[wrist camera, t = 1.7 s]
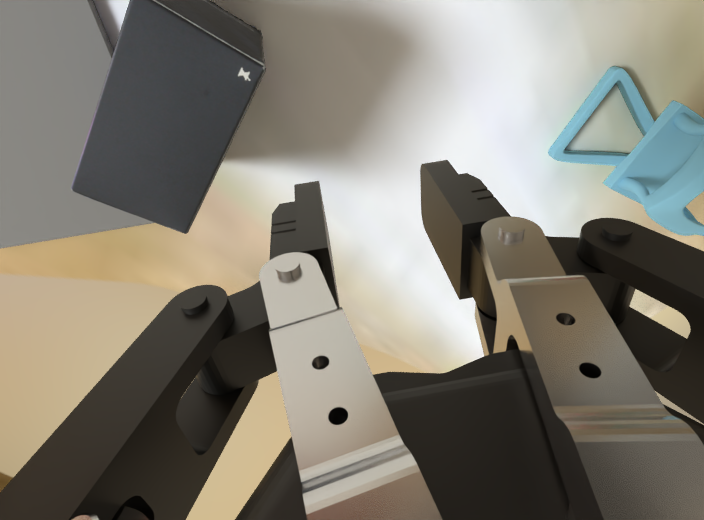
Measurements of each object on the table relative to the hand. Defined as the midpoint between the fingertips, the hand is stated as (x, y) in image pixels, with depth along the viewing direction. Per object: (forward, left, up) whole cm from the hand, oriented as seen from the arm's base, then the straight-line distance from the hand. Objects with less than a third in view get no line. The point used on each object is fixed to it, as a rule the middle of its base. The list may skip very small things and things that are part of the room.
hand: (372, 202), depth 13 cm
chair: (-23, +9, -21) cm, 33 cm away
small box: (+9, 0, -21) cm, 23 cm away
